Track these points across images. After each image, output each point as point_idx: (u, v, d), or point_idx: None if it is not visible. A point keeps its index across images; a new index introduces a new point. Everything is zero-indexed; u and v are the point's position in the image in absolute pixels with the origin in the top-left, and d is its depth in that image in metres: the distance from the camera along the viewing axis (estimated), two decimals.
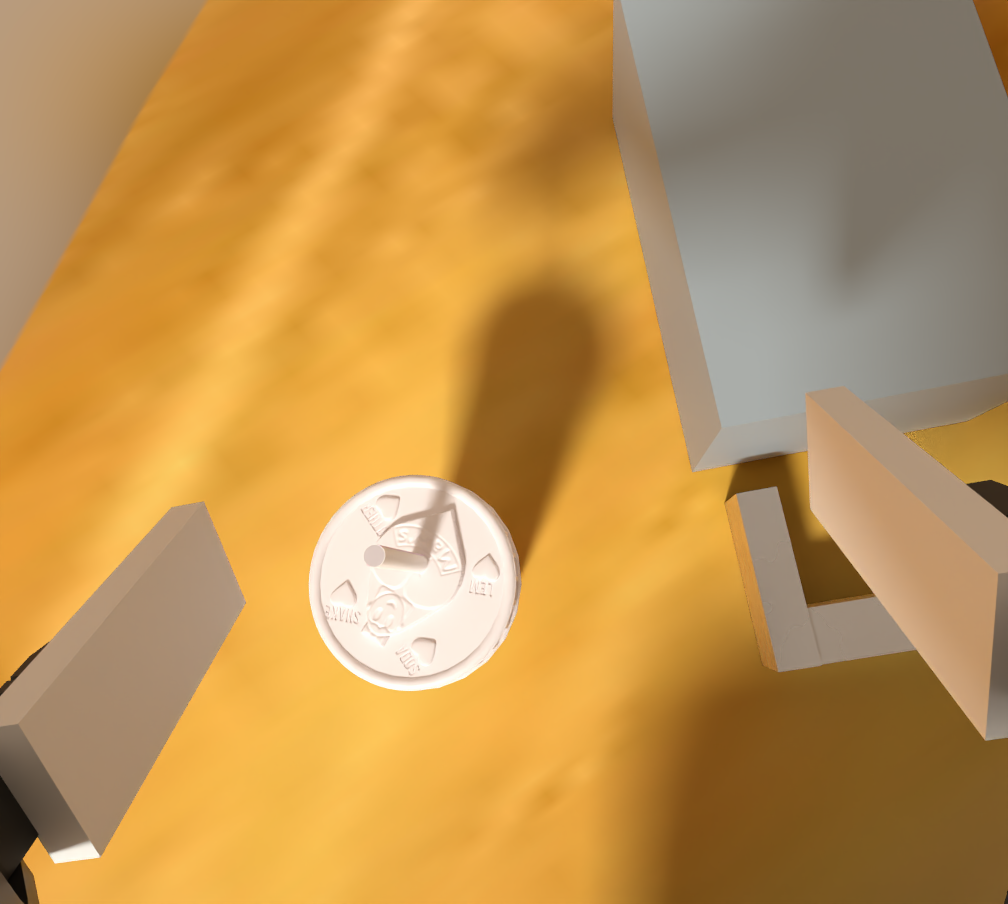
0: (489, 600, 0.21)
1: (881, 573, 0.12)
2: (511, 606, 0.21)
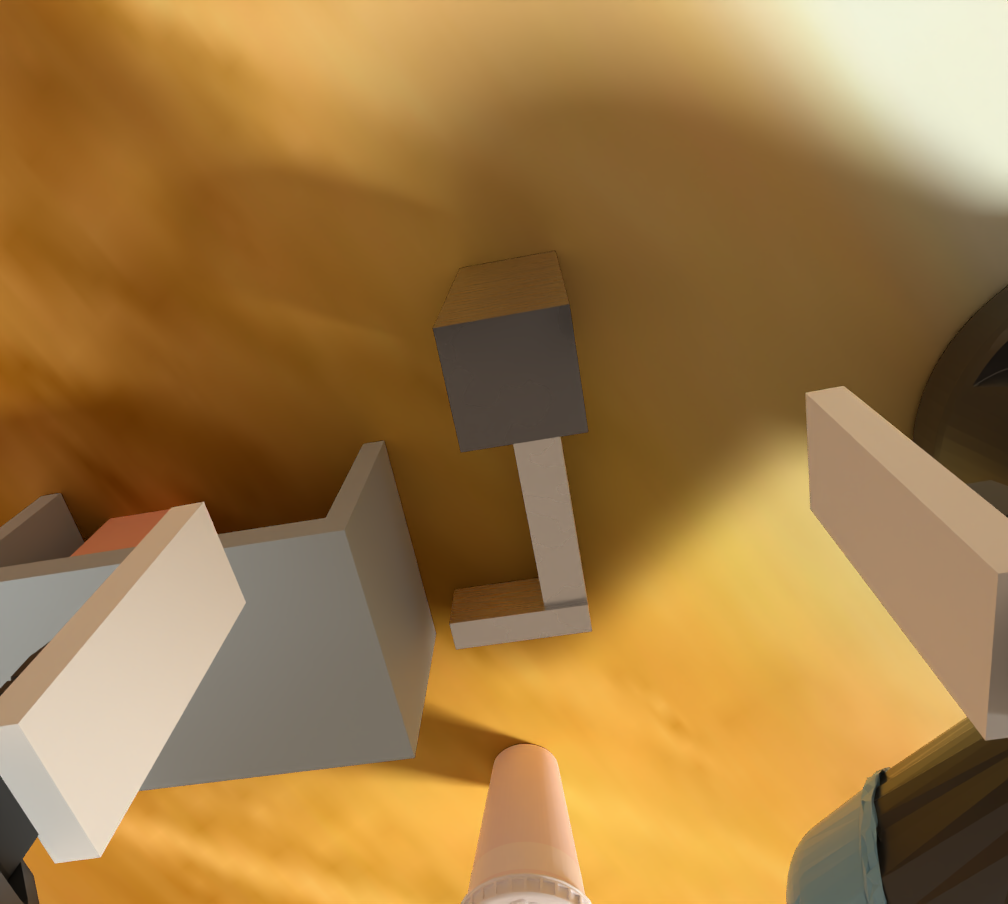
0: None
1: (881, 574, 0.12)
2: (543, 894, 0.32)
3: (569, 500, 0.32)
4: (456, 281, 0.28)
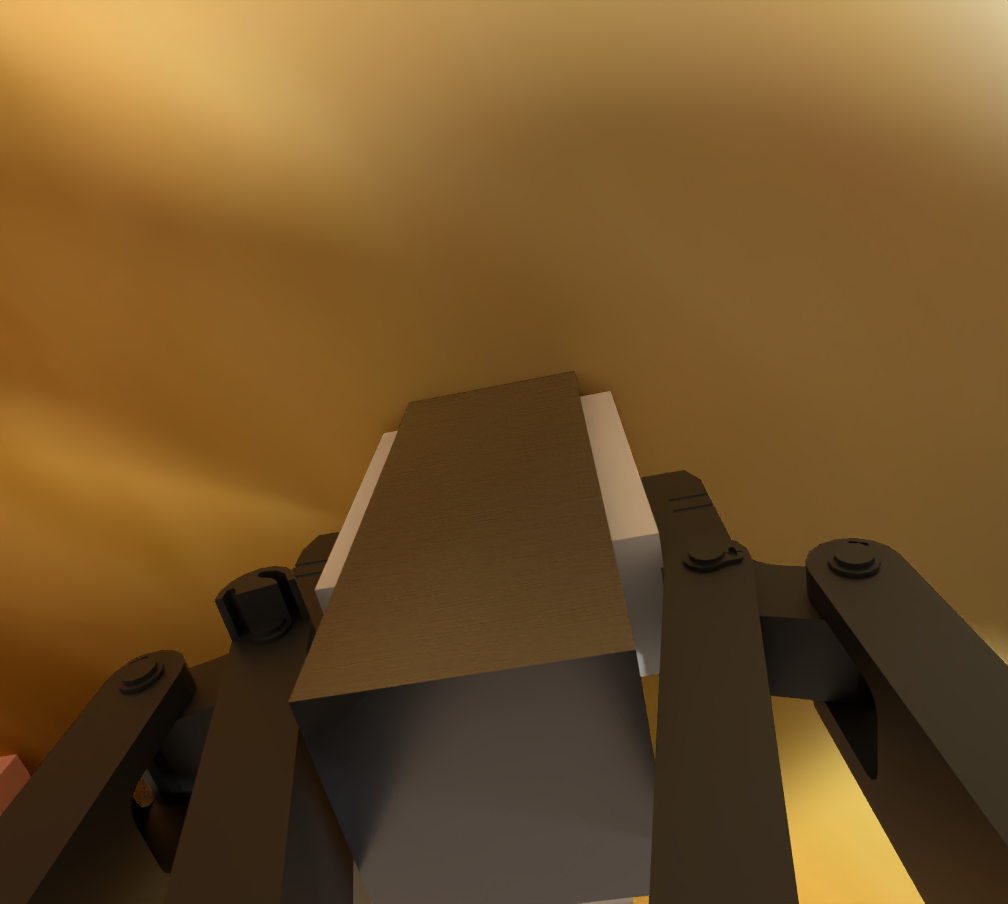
0: None
1: None
2: None
3: None
4: (393, 453, 0.15)
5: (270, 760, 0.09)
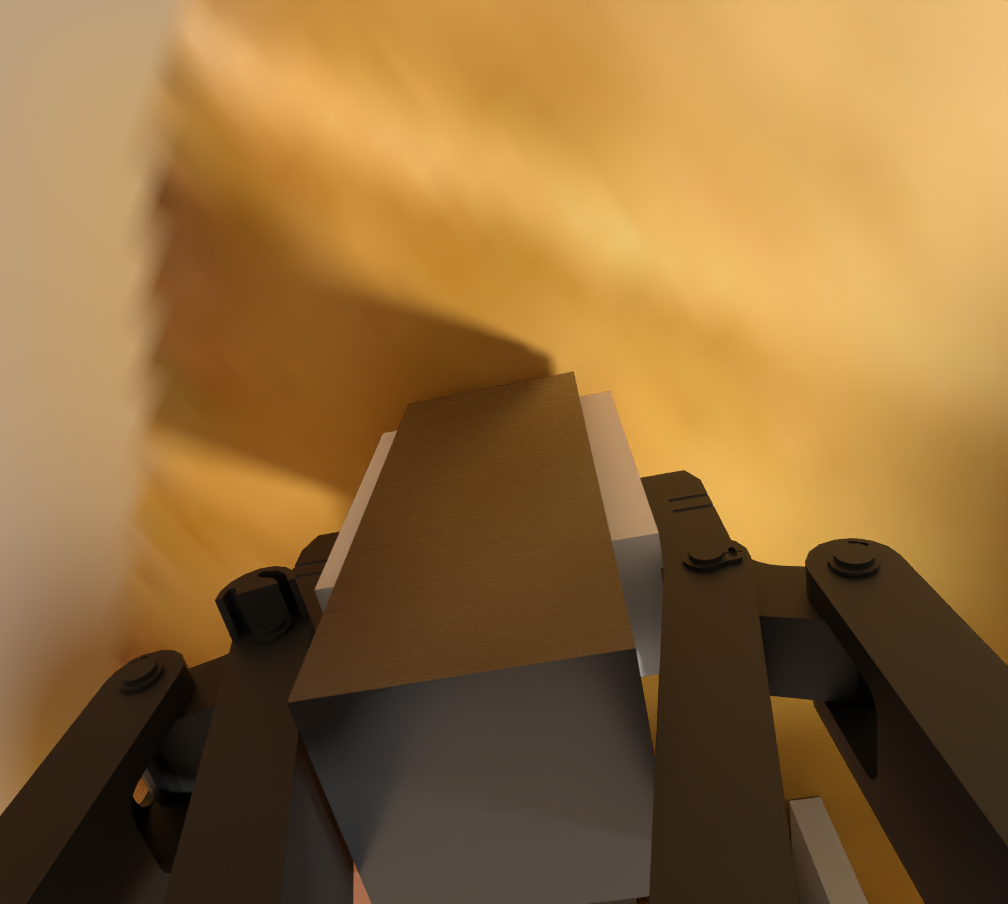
0: None
1: None
2: None
3: None
4: (392, 453, 0.15)
5: (270, 759, 0.09)
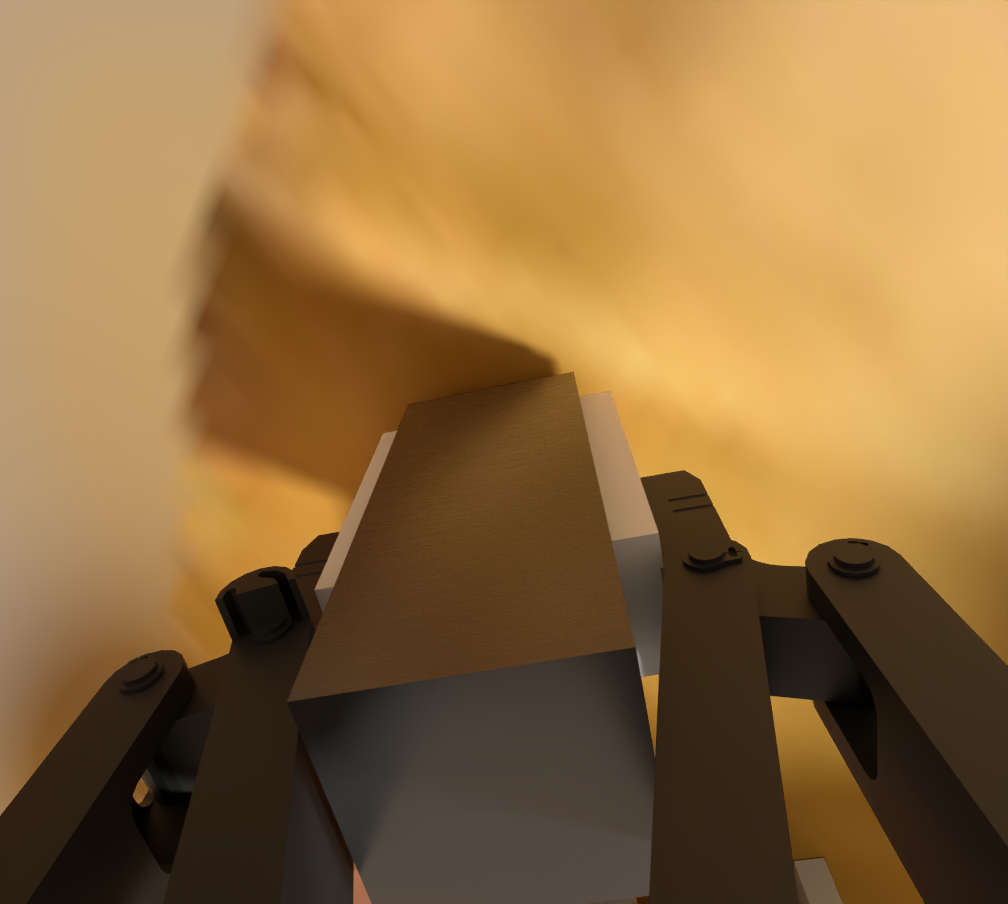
0: None
1: None
2: None
3: None
4: (392, 453, 0.15)
5: (270, 760, 0.09)
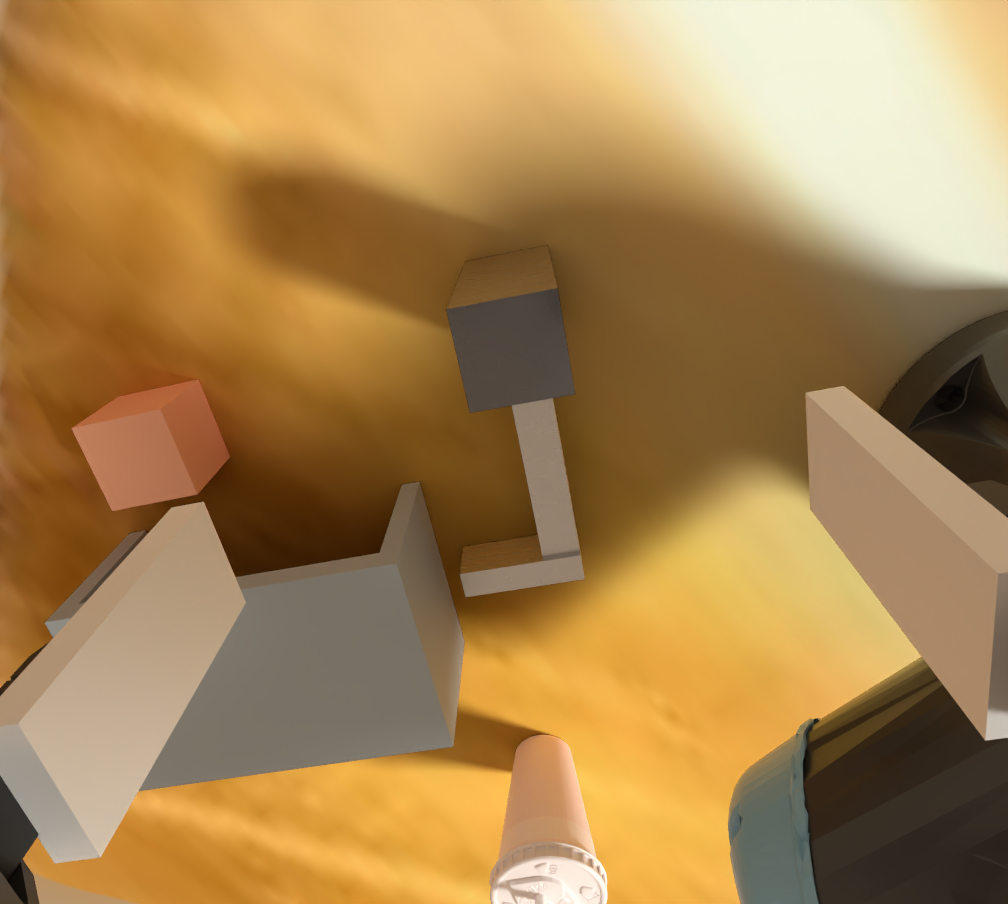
0: (559, 866, 0.38)
1: (880, 574, 0.12)
2: (562, 858, 0.38)
3: (563, 462, 0.37)
4: (463, 272, 0.32)
5: None
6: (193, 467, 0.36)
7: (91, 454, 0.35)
